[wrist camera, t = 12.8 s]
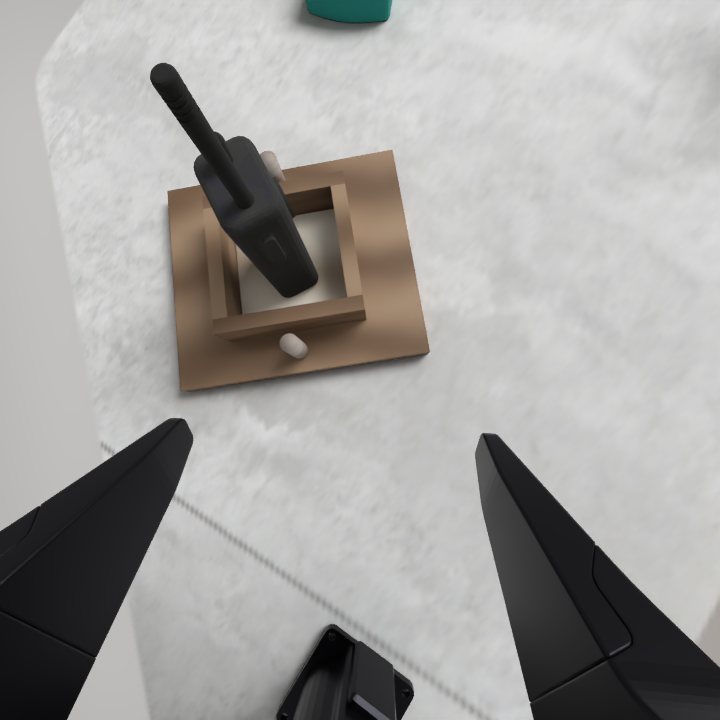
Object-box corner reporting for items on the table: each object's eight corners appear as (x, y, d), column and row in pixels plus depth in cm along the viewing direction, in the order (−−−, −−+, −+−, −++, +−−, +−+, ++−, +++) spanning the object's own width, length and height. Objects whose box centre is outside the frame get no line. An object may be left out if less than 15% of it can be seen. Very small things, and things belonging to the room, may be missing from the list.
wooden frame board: (427, 353, 24) (437, 343, 20) (188, 391, 24) (151, 388, 20) (391, 159, 26) (393, 115, 22) (175, 199, 27) (139, 162, 23)
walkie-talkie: (258, 250, 24) (71, 11, 10) (298, 230, 25) (172, -41, 10) (285, 305, 24) (128, 135, 9) (326, 283, 24) (237, 78, 9)
